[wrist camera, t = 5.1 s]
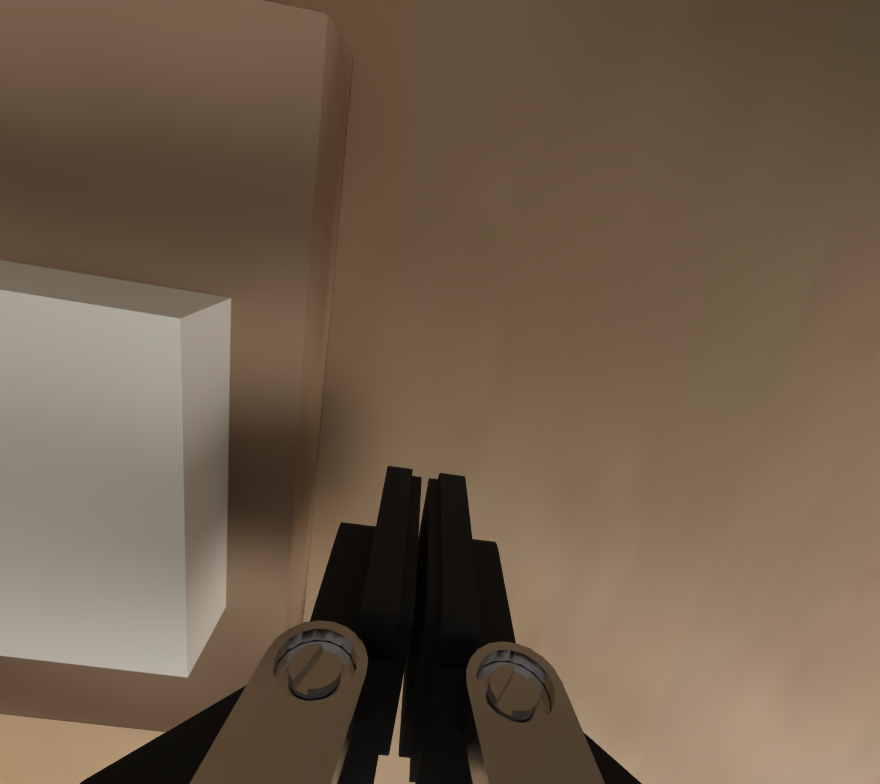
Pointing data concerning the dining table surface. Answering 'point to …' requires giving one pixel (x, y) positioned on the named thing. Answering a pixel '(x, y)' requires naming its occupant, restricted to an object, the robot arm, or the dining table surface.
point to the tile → (111, 469)
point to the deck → (190, 266)
